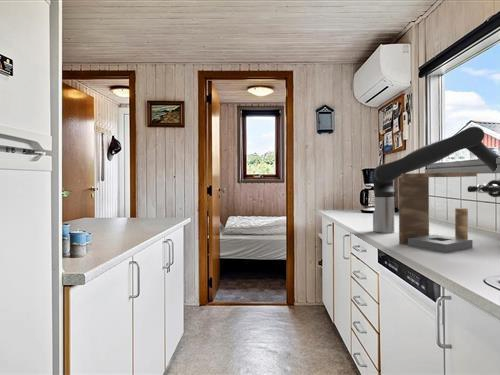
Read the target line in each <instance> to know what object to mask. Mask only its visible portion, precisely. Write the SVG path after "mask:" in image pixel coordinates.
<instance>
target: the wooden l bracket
mask: <svg viewBox="0 0 500 375" xmlns="http://www.w3.org/2000/svg"><path fill="white" fill-rule="evenodd" d="M477 174H478V173H477V172H476V171H473V172H471V171H470V172H426V173H425V172H423V173H420V172H419V173H405V174H401V176H399V177H398V239H399V240H398V244H399V245H408V238H414V237H421V236H428V235H430V195H429V194H430V189H429V188H430V181H429V180H430V178H462V177H463V178H466V177H467V178H469V177H478V176H477Z"/></svg>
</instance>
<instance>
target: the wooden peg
mask: <svg viewBox="0 0 500 375" xmlns="http://www.w3.org/2000/svg"><path fill="white" fill-rule="evenodd" d="M454 210H455V211H454V214H455V216H454V217H455V218H454V219H455V221H454V222H455V223H454V228H455V229H454V230H455V231H454V233H455V236H454V238H461V239H468V240H469V234H468V232H469V230H468V229H469V228H468V226H469V225H468V224H469V221H468V220H469V218H468V217H469V214H468V213H469V209H468V208H464V207H463V208H462V207H457V208H455V209H454Z"/></svg>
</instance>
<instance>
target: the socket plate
mask: <svg viewBox="0 0 500 375" xmlns="http://www.w3.org/2000/svg"><path fill="white" fill-rule="evenodd" d="M473 241H474V240H473V239H469V238H468V239H461V238H455V236H454V237H452V236H448V235H447V236H445V235H439V234H429V235H428V236H421V237H414V238H408V244H407V246H408V247H412V248H417V249H422V248H423V249H424V250H428V251H433V252H440V253H452V252H457V251H458V250H459V251H463V250H468V249H473V243H474V242H473Z"/></svg>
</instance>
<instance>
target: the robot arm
mask: <svg viewBox="0 0 500 375" xmlns="http://www.w3.org/2000/svg"><path fill="white" fill-rule="evenodd" d="M484 138H485V132H484V130H483V128H482V127H479V126H477V125H476V126H475V125H471V126H467V127H466V128H463V129H461V130H460V131H459V132H458V133H455V134H454V135H452V136H449V137H446V138H444V139H440V140H437V141H435V142H431V143H429V144H426V145H424V146H421V147H419V148H417V149H415V150H413V151H411V152H410V153H408V154H406V155H404V156H403V157H402V158H399V159H396V160H394V161H391V162H388V163H383V164H379V165H378V166H376V167H375V169H374V170H373V176H372V177H373V178H372V180H373V195H374V198H373V199H374V200H373V201H374V211H373V212H372V231H373V232H375V233H383V234H391V233H395V191H394V180H396V179H397V178H398V179H399V177H401V174H409V173H410V172H412V171H413V172H414V171H416V170H421V169H423V168H426V167H427V166H430V165H433V164H435V163H437V162H439V161H441V160H444V159H445V158H447V157H448V156H450V155H452V154H454V153H456V152H458V151H461V150H464V149H466V150H467V151H468V152H471V153H472V154H473V155H474V156H475V157H476V158H478V159H479V160H480V161H481V162H482V163H483V164H484V165H485V166H487V167H488V168H489V170H491V171H492V172H493V173H494V171H495V170H496V168H497V164H496V158H498V157H500V154H497V153H496V152H494V151H493V150H491V149H490V148H489V147H487V145H485V144H484V143H483V140H484ZM467 192H468V193H479V194H488V196H490V197H492V198H500V179H492V180H490V181H489V182H487V183H486V184H485V183H484V184H477V185H469V186H467Z"/></svg>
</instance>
